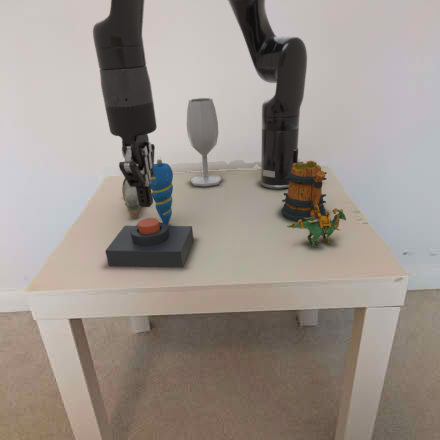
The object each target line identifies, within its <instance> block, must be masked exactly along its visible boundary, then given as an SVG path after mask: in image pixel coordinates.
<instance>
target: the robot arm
mask: <svg viewBox="0 0 440 440" xmlns="http://www.w3.org/2000/svg"><path fill="white" fill-rule="evenodd" d="M145 1H146V0H110V9H109V14H108V16H107V17H105V18H103V19H101V20H99V21H98V22H96V23H95V24H94V25H93V28H92V37H93V38H92V39H93V44H94V49H95V54H96V60H97V64H98V69H99V76H100V87H101V93H102V99H103V102H104V103H103V104H104V109H105V113H106V118H107V123H108V128H109V132H110V134H111V135H113V136H115V137H119V138H120V139H121V146H122V147H121V153H122V158H123V159H124V161H120V162H118V167H119V170H120V172H121V173H122V175H123V177H124V179H125V178H126V180H127V182H128V183H129V185H130V187H136V191H137V196H138V202H139V206H140V207H139V208H151V207H152V205H153V204H154V199H153V197H152V190H151V186H150V184H151V181H152V179H151V177H153V175H154V164H155V149H156V147H155V144H154V143H151V141H150V139H149V138H150V137H149V134H152V133H154V132H155V131H156V129H157V117H156V112H155V104H154V98H153V89H152V84H151V79H150V75H149V71H148V66H147V58H146V52H145V45H144V39H143V27H144V26H143V25H144V11H145ZM227 1H228V4H229V6H230V8H231V11H232V13H233V15H234V17H235V20H236V22H237V24H238V27H239V29H240V31H241V34H242V37H243V39H244V41H245V44H246V45H245V46H246V47H247V51H248V53H249V56H250V59H251V62H252V65H253V67H254V69H255V72H256V74H257V75H258V77H259V78H260V79H261V80H262V81H264V82H266V83H270V84H276V85H275V92H274V95H273V96H272V97H271V98H269V99H267V100H265V101H264V102H263V103H262V105H261V153H260V154H261V155H260V156H261V159H260V160H261V162H260V163H261V165H260V167H261V168H260V169H261V171H260V172H261V173H260V185H261V186H262V187H264V188H267V189H271V190H272V189H273V190H282V189H288V188H289V182H290V180H287V179H284V178H285V177H288V175H289V174H287V173H286V172H291V169H292V164H293V163H298V164H302V163H304V161H298V160H299V133H300V132H299V131H300V114H301V106H302V103H303V100H304V98H305V97H304V96H305V87H306V77H307V68H308V51H307V47H306V44H305V42H304V40H303V39H302V38H300V37H298V36H277V35H276V34H275V32H274V31H273V29H272V25H271V23H270V21H269V19H268V15H267V11H266V0H227Z"/></svg>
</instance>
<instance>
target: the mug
mask: <svg viewBox="0 0 440 440" xmlns="http://www.w3.org/2000/svg"><path fill="white" fill-rule="evenodd" d="M286 173H287V174H289V175H288V177H285V178H284V179H287V180H290V182H289V188H287V192H284V193H283V195H284V196H285V198H284V199H282V200H281V202H282V203H284V204H283V206H282V208H281V216H282V217H283V218H284V219H286V220H288V221H292V222H295V223H299V222H298V221H299V220H302V222H305V221H308V220H310V219H305V218H310V217H315V216H316V215H315V214H314V212H313V211H315V209H314V205H315V204H316V205H318V207H319V213H320V214H321V216H326V212H327V211H326V208H325V204H326V203H327V201H326V200H324V198H325V197H327V194H325V193H323V191H322V189H323V188H322V187H323V181H327V177H326V175H327V173H328V172H326V171H324V170H322V166H320V165H319V164H317V162H316V161H314V160H308V161H306V162H303V163H302V164H298V163H293V164H292V169H291V172H286ZM316 210H317V208H316Z"/></svg>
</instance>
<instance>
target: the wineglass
mask: <svg viewBox="0 0 440 440" xmlns="http://www.w3.org/2000/svg"><path fill="white" fill-rule="evenodd" d="M213 100H214V99H213V98H210V97H197V98H196V97H195V98H191V99H188V103H187V109H186V133H187V138H188V141H189V144H190V146H191V147H192V148H193V149H195V151H196V152H197V153H199V154H200V155H201V161H202V162H201V163H202V174H199V175H195V176H194V177H192V178H191V179H190V183H191V184H192V185H193V187H211V186H217V185H219V184H220V183H221V182H222V177H221V176H220V175H218V174H209V166H208V154H209V153H210V152H212V150H213V149H214V148H215V147H216V146H217V143H218V138H219V122H218V116H217V115H218V114H217V110H216V107H215V103H214V101H213Z"/></svg>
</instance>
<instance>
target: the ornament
mask: <svg viewBox="0 0 440 440" xmlns="http://www.w3.org/2000/svg"><path fill="white" fill-rule="evenodd" d="M159 158H160V159H157V160H156V163H154V175H153V177H151V179H152V181H151V184H150V186H151V192H152V199H153V202H154V203H155V210H156V212H157V214H158V216H159V218H160V221H161V222H162V223H165V224H166V225H167V226H169V223H170V222H171V221H170V220H171V218H172V215H173V209H172V205H173V196H172V195H173V191H174V185H173V179H174V173H173V169H172V167H171V165H169V163H166V162H163V160H162V158H161V156H159Z"/></svg>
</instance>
